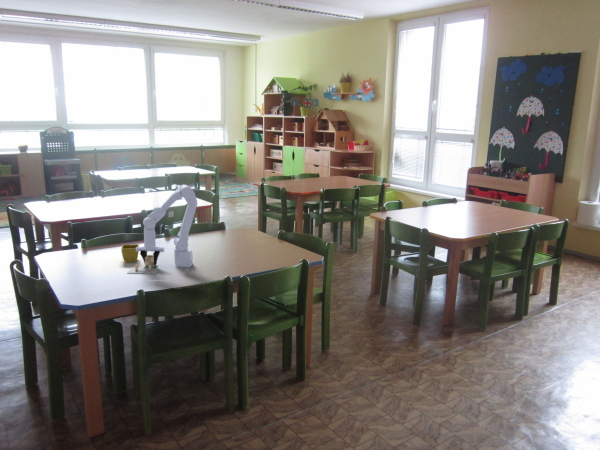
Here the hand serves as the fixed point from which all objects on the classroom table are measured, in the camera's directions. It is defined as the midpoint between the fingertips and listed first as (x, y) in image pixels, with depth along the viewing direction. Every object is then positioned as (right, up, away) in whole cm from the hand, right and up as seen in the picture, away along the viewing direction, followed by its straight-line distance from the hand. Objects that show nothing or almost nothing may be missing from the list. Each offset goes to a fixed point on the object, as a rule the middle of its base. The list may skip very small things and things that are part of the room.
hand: (150, 264), depth 259 cm
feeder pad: (0, -2, 0) cm, 2 cm away
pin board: (-2, -4, -7) cm, 8 cm away
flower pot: (-14, 0, +10) cm, 17 cm away
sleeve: (0, -1, 0) cm, 1 cm away
